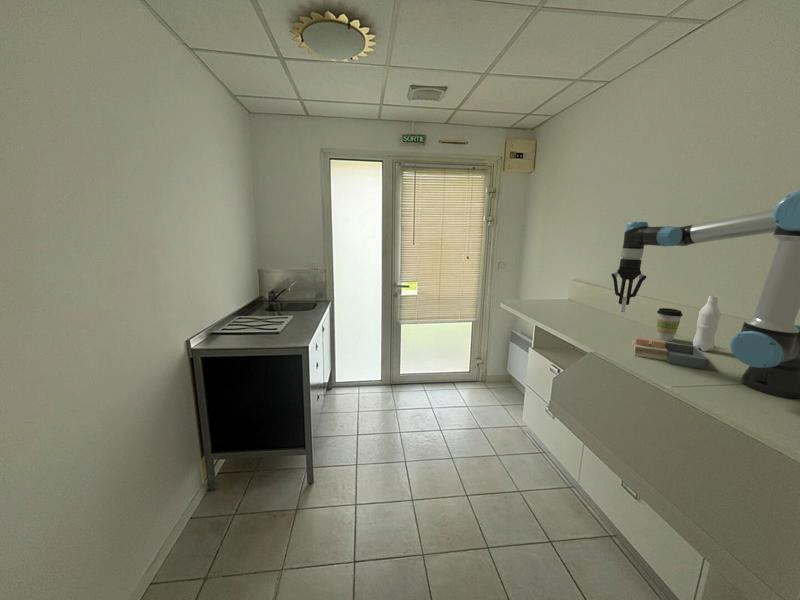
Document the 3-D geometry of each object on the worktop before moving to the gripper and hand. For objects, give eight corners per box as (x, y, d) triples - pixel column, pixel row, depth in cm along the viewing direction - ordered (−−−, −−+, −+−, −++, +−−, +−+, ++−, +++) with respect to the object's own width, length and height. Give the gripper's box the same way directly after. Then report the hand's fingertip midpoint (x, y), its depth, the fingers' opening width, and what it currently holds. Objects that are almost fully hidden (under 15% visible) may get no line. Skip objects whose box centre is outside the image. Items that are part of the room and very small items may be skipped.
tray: (706, 369, 128) (708, 359, 127) (667, 363, 133) (669, 353, 133) (694, 355, 143) (696, 346, 142) (659, 349, 149) (661, 341, 148)
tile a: (648, 346, 141) (649, 340, 141) (635, 344, 144) (636, 339, 143) (646, 343, 145) (647, 337, 145) (634, 341, 147) (635, 336, 147)
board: (666, 360, 136) (668, 351, 135) (634, 355, 141) (635, 346, 140) (661, 351, 146) (662, 343, 145) (631, 347, 151) (632, 339, 151)
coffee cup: (648, 337, 167) (653, 308, 163) (659, 335, 171) (664, 307, 168) (670, 343, 158) (676, 313, 155) (681, 340, 162) (687, 311, 159)
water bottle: (716, 352, 146) (729, 298, 141) (698, 351, 147) (710, 297, 142) (704, 347, 153) (716, 294, 148) (687, 346, 154) (698, 294, 149)
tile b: (664, 348, 139) (665, 343, 138) (651, 346, 141) (652, 341, 140) (662, 345, 143) (663, 340, 142) (649, 343, 145) (650, 338, 144)
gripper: (648, 258, 141) (639, 311, 146) (612, 257, 147) (604, 307, 152) (651, 260, 135) (641, 315, 140) (613, 258, 141) (605, 311, 146)
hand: (622, 311), depth 146 cm, fingers closed
